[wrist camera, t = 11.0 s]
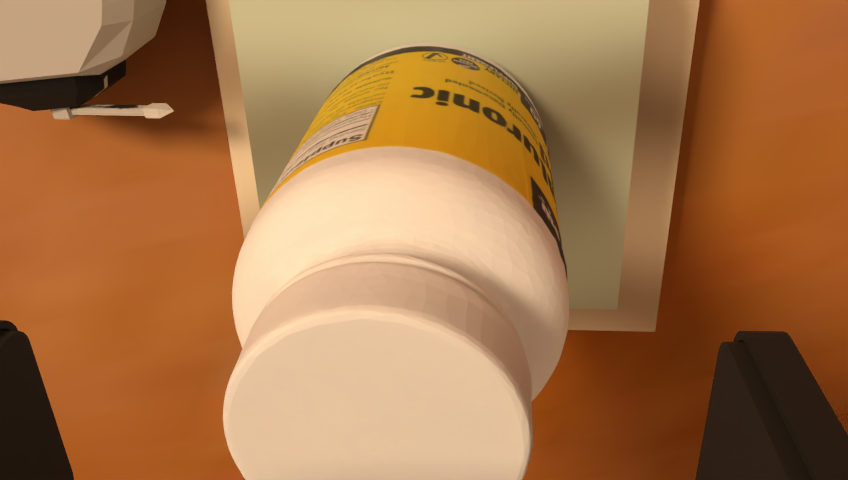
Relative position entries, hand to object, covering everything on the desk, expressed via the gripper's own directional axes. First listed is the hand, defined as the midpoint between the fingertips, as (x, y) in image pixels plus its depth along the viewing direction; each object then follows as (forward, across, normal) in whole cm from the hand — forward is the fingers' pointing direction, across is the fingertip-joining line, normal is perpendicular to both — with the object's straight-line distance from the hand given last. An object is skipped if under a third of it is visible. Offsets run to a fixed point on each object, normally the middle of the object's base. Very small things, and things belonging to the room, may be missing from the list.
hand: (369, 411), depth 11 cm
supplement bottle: (+9, 0, 0) cm, 9 cm away
